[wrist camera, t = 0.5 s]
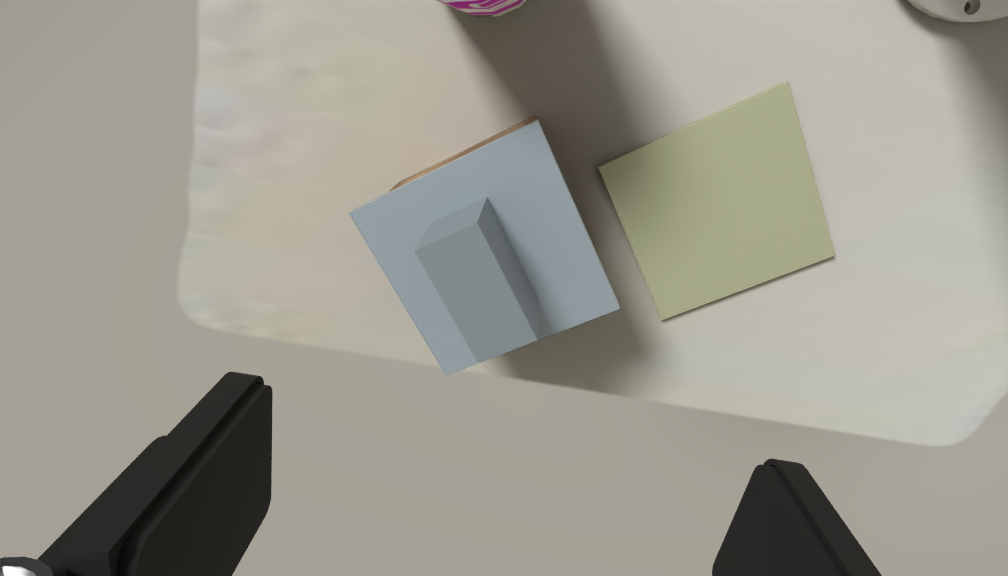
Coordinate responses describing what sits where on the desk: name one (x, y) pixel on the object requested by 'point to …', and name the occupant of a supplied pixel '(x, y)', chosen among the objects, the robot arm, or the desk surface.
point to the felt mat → (721, 203)
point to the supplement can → (484, 6)
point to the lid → (488, 251)
